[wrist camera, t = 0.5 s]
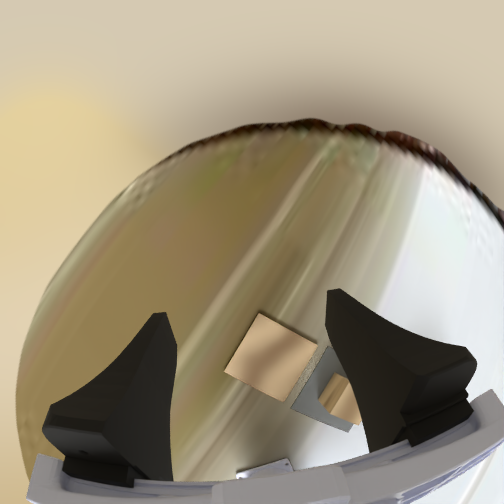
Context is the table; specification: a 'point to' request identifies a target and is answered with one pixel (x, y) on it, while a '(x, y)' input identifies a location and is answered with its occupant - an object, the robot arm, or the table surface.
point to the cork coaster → (271, 358)
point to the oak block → (340, 399)
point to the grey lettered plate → (314, 389)
